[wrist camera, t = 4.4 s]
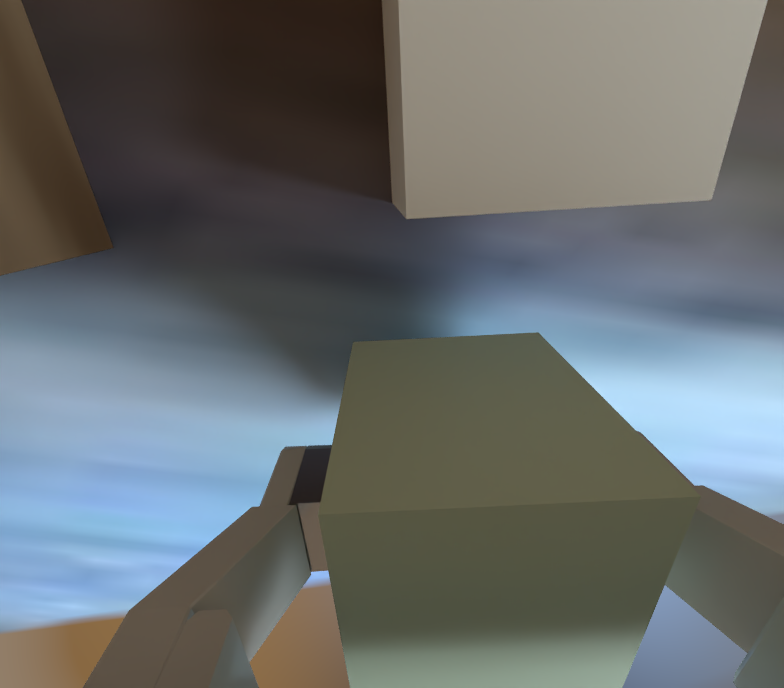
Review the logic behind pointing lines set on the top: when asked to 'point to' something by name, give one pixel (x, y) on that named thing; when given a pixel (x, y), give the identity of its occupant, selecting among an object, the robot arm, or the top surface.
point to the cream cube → (561, 101)
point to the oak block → (38, 161)
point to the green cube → (492, 519)
